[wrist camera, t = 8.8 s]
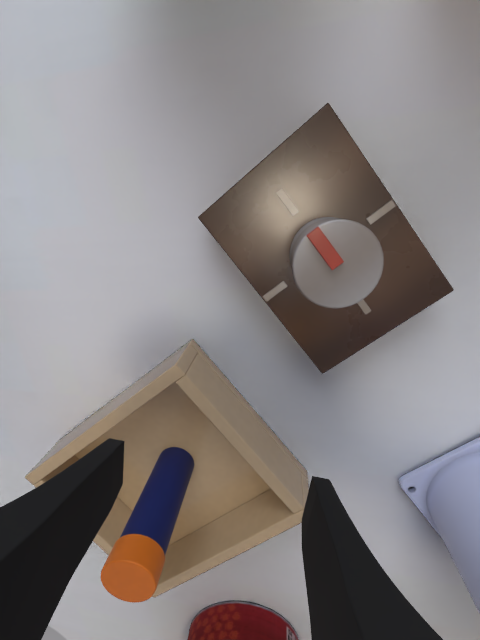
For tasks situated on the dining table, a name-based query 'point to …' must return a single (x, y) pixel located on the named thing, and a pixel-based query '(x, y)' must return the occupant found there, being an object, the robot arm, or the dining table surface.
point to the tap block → (312, 203)
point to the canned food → (240, 623)
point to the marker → (149, 530)
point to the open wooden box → (209, 463)
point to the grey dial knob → (336, 261)
